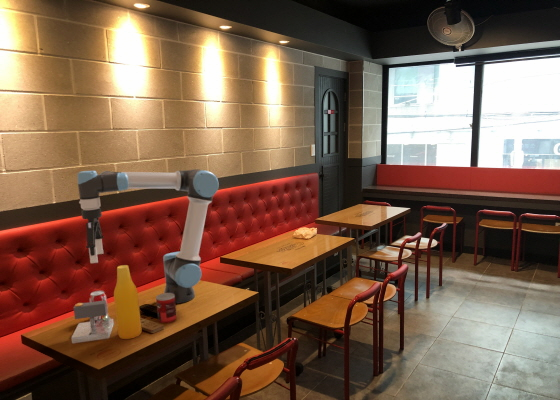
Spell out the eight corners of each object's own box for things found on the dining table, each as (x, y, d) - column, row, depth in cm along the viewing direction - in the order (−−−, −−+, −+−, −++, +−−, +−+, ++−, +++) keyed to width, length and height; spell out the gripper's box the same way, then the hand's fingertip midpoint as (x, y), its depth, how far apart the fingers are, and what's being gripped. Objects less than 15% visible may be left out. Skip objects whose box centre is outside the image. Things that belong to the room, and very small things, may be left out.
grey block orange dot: (108, 323, 194) (105, 299, 193) (107, 327, 191) (104, 302, 189) (78, 327, 192) (75, 303, 190) (76, 331, 188) (73, 306, 186)
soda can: (102, 321, 203) (99, 296, 201) (88, 321, 205) (85, 295, 203) (111, 315, 210) (108, 290, 208) (97, 314, 211) (94, 289, 209)
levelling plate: (113, 324, 200) (112, 312, 199) (108, 338, 186) (107, 325, 186) (79, 328, 197) (78, 317, 196) (72, 343, 184) (70, 330, 183)
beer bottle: (146, 329, 192) (138, 263, 188) (135, 340, 183) (127, 270, 179) (125, 329, 194) (118, 263, 189) (114, 339, 185) (105, 270, 180)
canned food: (161, 316, 206) (158, 293, 204) (178, 315, 205) (176, 292, 203) (156, 323, 198) (153, 299, 196) (174, 323, 198) (172, 298, 196)
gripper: (87, 204, 200) (93, 251, 204) (74, 214, 176) (81, 267, 180) (105, 203, 202) (111, 249, 205) (95, 212, 178) (101, 265, 181)
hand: (97, 258), depth 192 cm, fingers open, 13 cm apart
